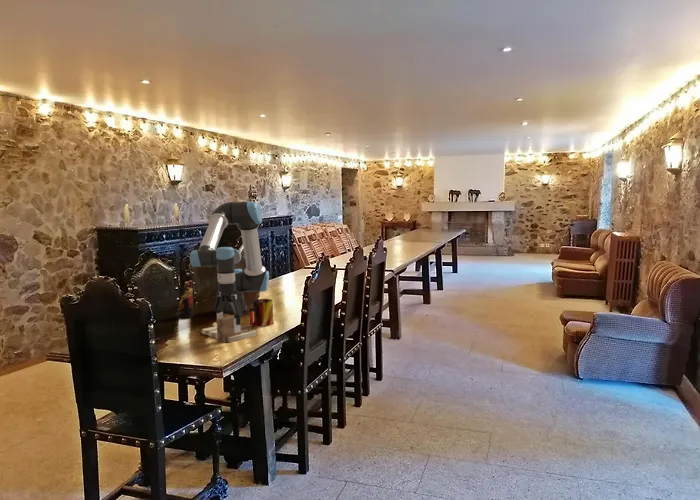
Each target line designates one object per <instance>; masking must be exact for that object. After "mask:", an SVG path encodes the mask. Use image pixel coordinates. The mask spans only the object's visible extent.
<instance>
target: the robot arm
mask: <svg viewBox="0 0 700 500" xmlns="http://www.w3.org/2000/svg"><path fill="white" fill-rule="evenodd" d="M208 222H209V223H208V226H207V227H206V231H205V233H204V236H203V238H202V241H201V242H200V245H199V247H198V250H197V249H195V250H192V251H191V252H190V254H189V262H190V265H191V267H195V268H196V267H197V268H198V267H199V268H204V267H208V268H209V267H216V271H217V272H216V275H217V276H216V278H217V290H218V291H217V292H215V293H216V294H215V295H216V297H215V301H214V305H213V311H214V312H215V313H216V320H217V319H218V318H223V317H224V314H233V315H234V316H235V317H234V333H237V332H241V328H240V327H241V324H242V323H241V317H243V316H244V312H246V311H247V310H248V305H247V303H246V300H245V297H244V293H257V292H258V293H261V292H266V291H268V287H269V282H270V272H269V270H266V267H265V266H264V265H263V262H262V255H261V248H260V240H259V233H258V232H259V231H258V228H259V227H260V224H262V222H263V214H262V209H261V206H260V204H259V203H258V202H257V201H228V202H225V203H223V204H220V205H219V206H217V207H216V208H215V209H214V210H213V211H212V212H211V214H210V216H209V218H208ZM228 225H236V227H237V229H238V230H240V233H241V239H242V247H243V251H244V260H245V265H246V268H245V269H244V270H243V269H242V268H236V267H235V266H236V265H238V264H239V263H240V262H241V259H242V254H241V252H240V251H239V250H238V249H236V248H234V247H232V246H221V247H218V245H219V243H220V240H221V237H222V236H223V233H224V230H225V229H226V228H227V227H228Z"/></svg>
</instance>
